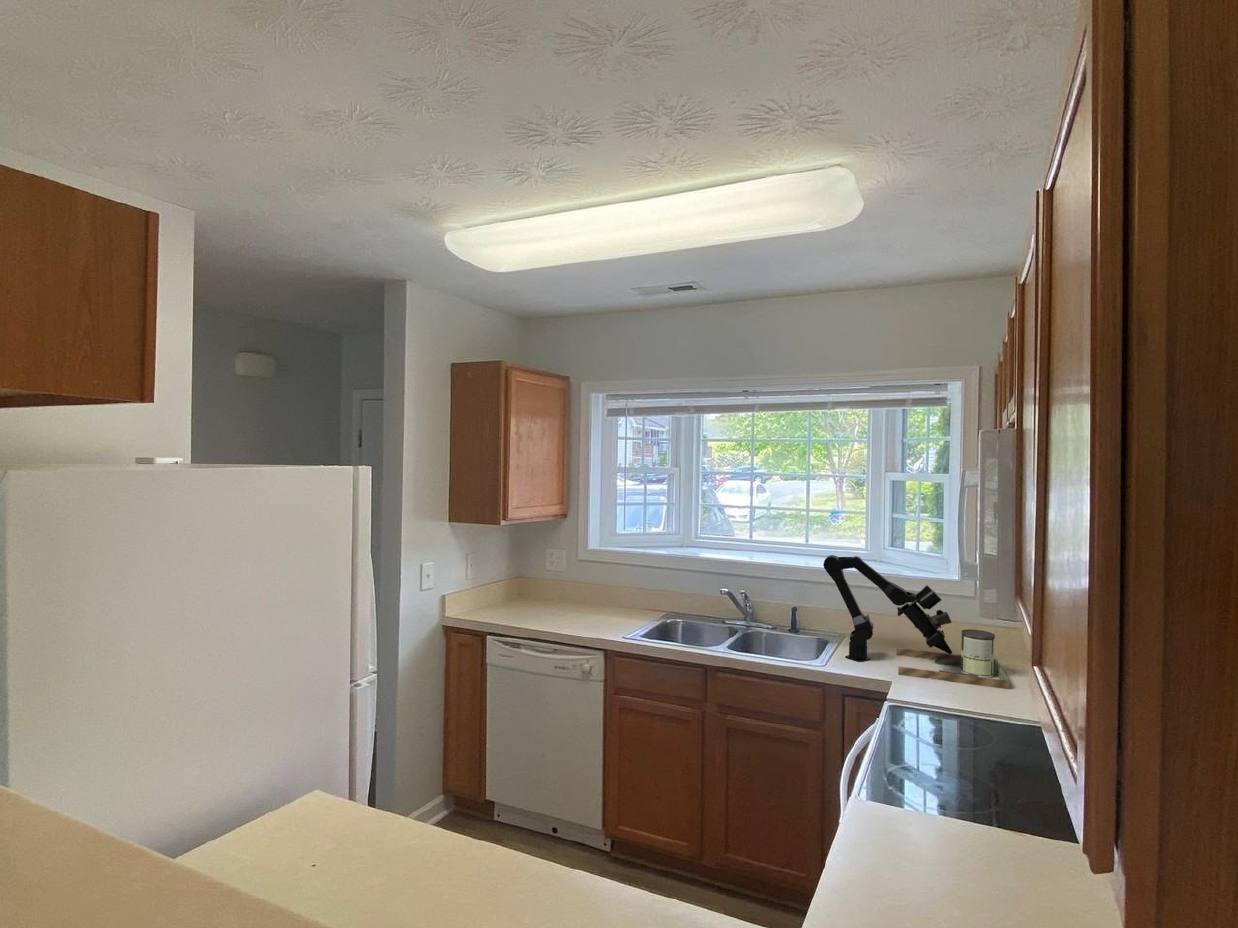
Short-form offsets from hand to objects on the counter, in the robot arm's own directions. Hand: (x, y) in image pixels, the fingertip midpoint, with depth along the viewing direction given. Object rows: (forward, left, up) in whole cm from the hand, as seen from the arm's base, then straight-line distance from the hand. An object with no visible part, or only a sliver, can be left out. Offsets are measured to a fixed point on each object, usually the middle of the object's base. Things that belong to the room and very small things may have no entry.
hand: (951, 653), depth 238 cm
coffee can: (+5, -6, -6) cm, 10 cm away
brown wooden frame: (-1, +1, -6) cm, 6 cm away
